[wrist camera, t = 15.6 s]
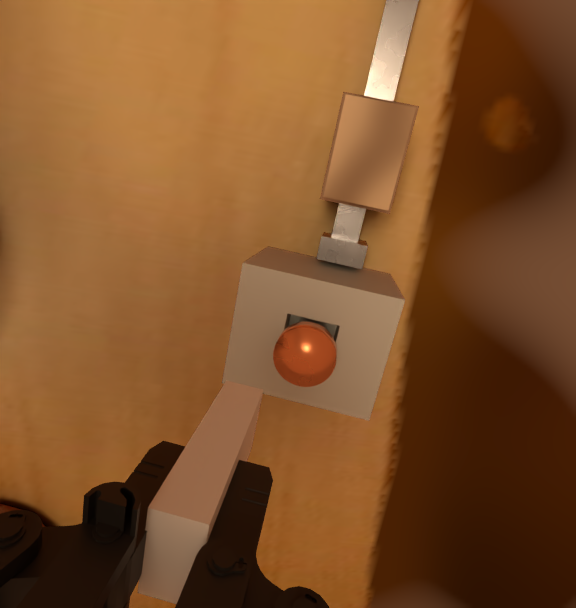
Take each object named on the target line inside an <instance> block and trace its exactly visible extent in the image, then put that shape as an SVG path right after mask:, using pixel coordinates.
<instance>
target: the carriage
mask: <svg viewBox="0 0 576 608" xmlns="http://www.w3.org/2000/svg"><path fill="white" fill-rule="evenodd" d="M418 108H419V106H415V105H410V104H404V103H399V102H394V101H389V100H383V99H378V98H373V97H368V96H363V95H357V94H352V93H347V92H343V97H342V101H341V106H340V110H339V115H338V119H337V124H336V129H335V133H334V138H333V142H332V147H331V151H330V156H329V161H328V165H327V170H326V174H325V179H324V183H323V188H322V193H321V197H320V199H322V200H327V201H331V202H336V203H341V204H345V205H350V206H355V207H359V208H364V209H369V210H373V211H378V212H383V213H387V214H390V211H391V208H392V204H393V200H394V197H395V193H396V189H397V186H398V182H399V178H400V174H401V171H402V167H403V163H404V160H405V156H406V152H407V148H408V145H409V141H410V137H411V134H412V130H413V126H414V122H415V119H416V115H417V111H418Z"/></svg>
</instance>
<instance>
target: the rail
mask: <svg viewBox="0 0 576 608" xmlns="http://www.w3.org/2000/svg"><path fill="white" fill-rule="evenodd" d="M418 2H419V0H386V4H385V8H384V12H383V17H382V21H381V25H380V30H379V34H378V38H377V43H376V47H375V51H374V55H373V60H372V64H371V68H370V73H369V77H368V81H367V86H366V90H365V94H364V96H368V97H373V98H378V99H383V100H389V101H394V97H395V93H396V89H397V85H398V81H399V77H400V73H401V69H402V65H403V61H404V57H405V53H406V49H407V45H408V41H409V37H410V33H411V29H412V25H413V21H414V17H415V13H416V9H417V5H418ZM365 212H366V209H364V208H359V207H355V206H350V205H345V204H341V203H339V206H338V210H337V215H336V219H335V223H334V228H333V232H332V234H330V233H326V232H324V233H323V235H322V236H321V241H320V245H319V250H318V254H317V258H316V259H319V260H323V261H328V262H332V263H337V264H341V265H345V266H350V267H354V268H359V269H362V267H363V263H364V260H365V256H366V252H367V248H368V245H367V243H366V241H362V240H358V239H359V235H360V231H361V227H362V224H363V220H364V216H365Z"/></svg>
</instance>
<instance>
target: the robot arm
mask: <svg viewBox="0 0 576 608" xmlns="http://www.w3.org/2000/svg"><path fill="white" fill-rule="evenodd" d="M262 395H263V389H259V388H255V387H251V386H247V385H243V384H239V383H235V382H231V381H227V380H226V382H225V383H224V385H223V387H222V388H221V390H220V392H219V393H218V395H217V396H216V398H215V400H214V401H213V403H212V405H211V406H210V408H209V409H208V411H207V413H206V414H205V416H204V418H203V419H202V421H201V422H200V424H199V426H198V427H197V429H196V430H195V432H194V434H193V435H192V437H191V439H190V440H189V442H188V443H187V445H186V447H185V446H181V445H177V444H173V443H170V442H166V441H162V442H161V443H159V444H158V445H156V446H154V447H153V448H151V449H150V450H149V451H148V452H147V454H146V455H145V456H144V458H143V459H142V460H141V463H139V464H138V466H137V467H136V468H135V470H134V472H132V474H131V475H130V476H129V478H128V479H127V481H126V482H125V483H122V482H110V483H104V484H101V485H99V486H97V487H94V488H92V489H91V490H90V491H89V492H88V493H86V494H85V495H84V506H83V522H82V524H78V525H73V526H58V527H42V521H41V518H40V517H39V516H38V515H37V514H36V513H34V512H31V511H28V510H12V511H8V512H5V513H1V514H0V608H129V601H130V596H131V594H132V592H133V590H134V588H135V586H136V584H137V582H138V580H139V586H138V593H140V594H143V595H147V596H150V597H154V598H157V599H161V600H164V601H167V602H171V603H174V604H176V607H175V608H329V606H328V605H327V603H326V602H325V601H324V600H323V598H322V597H321V596H320V595H319V594H317V593H316V592H314V591H313V590H311V589H308V588H304V587H300V586H298V587H292V588H288V589H286V590H285V591H283V590H281V589H280V588H278V587H277V586H275V585H274V584H273V583H271V582H270V581H269V580H268V579H267V578H266V577H265V576H264V575H263V573H262V572H261V571H260V568H259V566H258V564H257V559H256V550H257V546H258V542H259V538H260V533H261V529H262V525H263V521H264V517H265V512H266V508H267V504H268V500H269V495H270V491H271V487H272V482H273V479H272V476H271V472H270V469H269V467H265V466H261V465H257V464H254V463H250V462H247V460H248V457H249V454H250V451H251V448H252V443H253V439H254V434H255V429H256V424H257V419H258V414H259V409H260V405H261V400H262Z"/></svg>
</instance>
